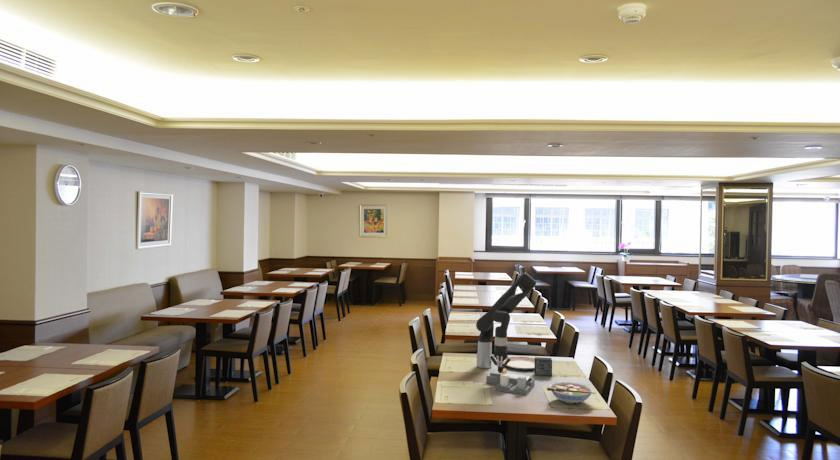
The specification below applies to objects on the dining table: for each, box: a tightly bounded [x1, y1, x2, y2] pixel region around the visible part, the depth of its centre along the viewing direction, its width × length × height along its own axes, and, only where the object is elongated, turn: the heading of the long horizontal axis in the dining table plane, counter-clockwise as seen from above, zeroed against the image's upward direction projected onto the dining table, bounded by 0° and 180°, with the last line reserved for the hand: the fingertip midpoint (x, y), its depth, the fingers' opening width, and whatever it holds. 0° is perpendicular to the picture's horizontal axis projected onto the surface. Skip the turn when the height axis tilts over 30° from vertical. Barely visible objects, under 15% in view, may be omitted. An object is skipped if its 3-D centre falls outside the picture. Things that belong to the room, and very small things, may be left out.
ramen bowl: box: [546, 381, 597, 404], centre depth 293 cm, size 25×23×8 cm
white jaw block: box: [500, 373, 509, 387], centre depth 313 cm, size 4×4×7 cm
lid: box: [501, 368, 532, 381], centre depth 322 cm, size 16×8×4 cm, turn 66°
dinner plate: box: [503, 355, 535, 371], centre depth 364 cm, size 27×27×3 cm
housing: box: [485, 372, 535, 396], centre depth 318 cm, size 27×20×8 cm
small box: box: [533, 356, 553, 377], centre depth 344 cm, size 11×6×10 cm, turn 84°
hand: (500, 372), depth 325 cm, fingers closed
